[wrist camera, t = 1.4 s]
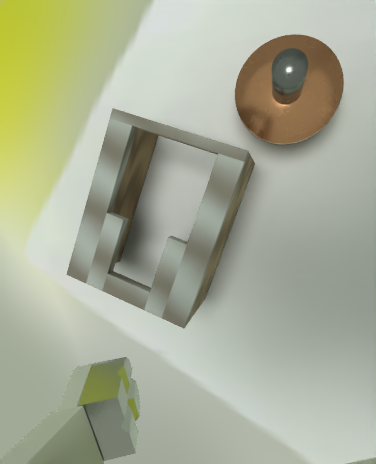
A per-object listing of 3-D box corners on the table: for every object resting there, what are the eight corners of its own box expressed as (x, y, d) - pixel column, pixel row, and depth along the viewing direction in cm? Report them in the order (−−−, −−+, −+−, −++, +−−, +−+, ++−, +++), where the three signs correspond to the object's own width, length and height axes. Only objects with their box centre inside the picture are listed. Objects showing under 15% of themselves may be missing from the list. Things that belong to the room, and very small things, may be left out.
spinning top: (258, 51, 37) (252, -13, 26) (347, 73, 35) (381, 13, 23) (229, 137, 38) (210, 112, 27) (311, 162, 36) (327, 146, 25)
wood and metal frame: (150, 130, 41) (112, 108, 31) (254, 163, 38) (248, 151, 28) (111, 258, 44) (66, 274, 34) (205, 298, 41) (184, 328, 32)
